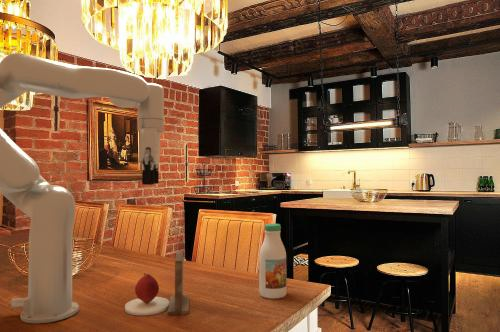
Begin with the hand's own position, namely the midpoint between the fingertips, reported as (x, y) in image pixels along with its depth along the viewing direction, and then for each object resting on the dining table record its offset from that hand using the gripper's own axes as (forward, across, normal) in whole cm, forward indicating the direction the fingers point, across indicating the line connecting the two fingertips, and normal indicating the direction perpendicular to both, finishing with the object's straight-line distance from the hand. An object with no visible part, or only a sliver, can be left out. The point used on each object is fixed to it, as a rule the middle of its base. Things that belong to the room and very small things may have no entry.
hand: (150, 184), depth 110 cm
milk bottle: (+32, +8, +35) cm, 48 cm away
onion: (+31, +14, +1) cm, 34 cm away
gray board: (+31, +14, +9) cm, 35 cm away
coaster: (+31, +14, +1) cm, 34 cm away
